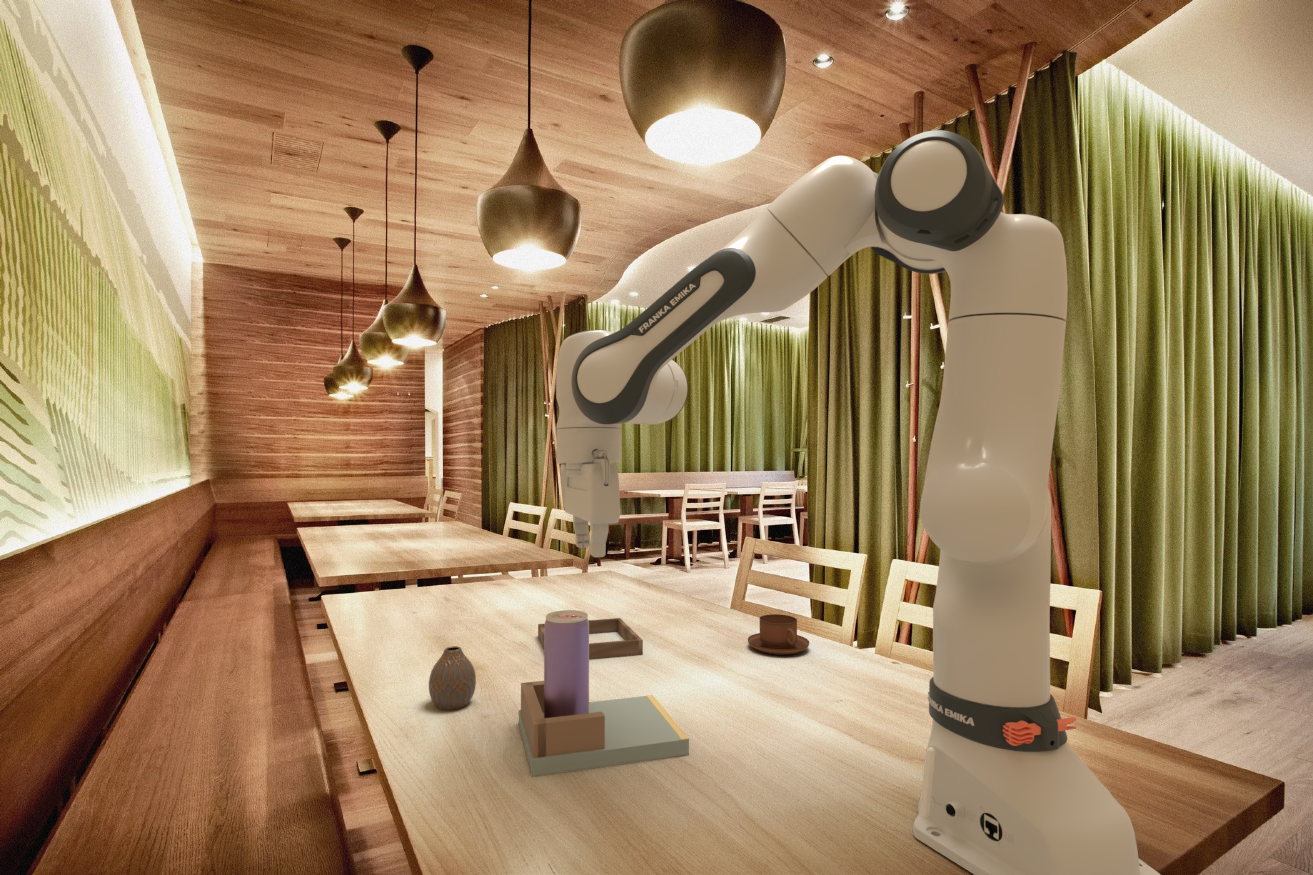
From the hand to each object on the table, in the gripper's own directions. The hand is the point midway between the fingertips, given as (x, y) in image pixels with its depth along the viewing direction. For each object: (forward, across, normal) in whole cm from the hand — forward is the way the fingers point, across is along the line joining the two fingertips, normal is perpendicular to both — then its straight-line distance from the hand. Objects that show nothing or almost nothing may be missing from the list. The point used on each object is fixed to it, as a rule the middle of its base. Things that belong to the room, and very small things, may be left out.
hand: (589, 551), depth 90 cm
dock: (+25, 0, -1) cm, 25 cm away
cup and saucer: (+26, +29, -44) cm, 59 cm away
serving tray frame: (+25, +42, -9) cm, 49 cm away
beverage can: (+24, 0, +3) cm, 24 cm away
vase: (+25, +18, +18) cm, 36 cm away
